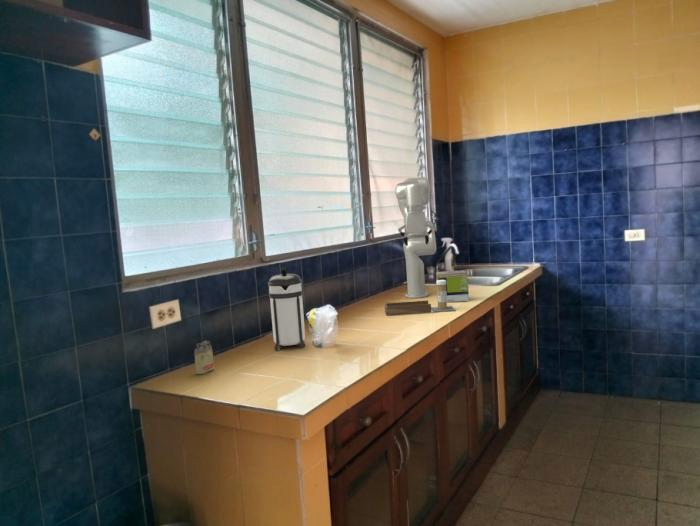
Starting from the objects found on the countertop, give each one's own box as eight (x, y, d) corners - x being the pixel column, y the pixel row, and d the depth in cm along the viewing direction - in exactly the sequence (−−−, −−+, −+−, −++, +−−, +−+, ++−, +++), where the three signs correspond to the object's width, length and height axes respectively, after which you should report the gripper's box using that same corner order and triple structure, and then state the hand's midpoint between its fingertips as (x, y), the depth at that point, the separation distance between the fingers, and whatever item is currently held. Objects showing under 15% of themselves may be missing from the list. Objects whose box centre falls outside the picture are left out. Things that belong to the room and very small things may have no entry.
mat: (430, 308, 263) (430, 307, 263) (451, 307, 263) (451, 306, 263) (433, 312, 253) (433, 311, 253) (455, 311, 253) (455, 310, 253)
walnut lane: (384, 311, 263) (384, 303, 263) (428, 308, 263) (427, 300, 263) (386, 315, 253) (385, 307, 253) (431, 312, 253) (431, 304, 253)
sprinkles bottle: (436, 308, 260) (435, 280, 259) (446, 307, 261) (444, 279, 260) (439, 309, 256) (437, 281, 255) (448, 309, 256) (447, 280, 255)
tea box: (466, 298, 284) (465, 269, 283) (469, 301, 274) (467, 272, 273) (437, 299, 286) (435, 271, 284) (438, 303, 276) (437, 273, 274)
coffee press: (319, 343, 211) (313, 265, 208) (287, 353, 199) (281, 270, 196) (290, 338, 223) (284, 264, 219) (258, 347, 211) (251, 269, 208)
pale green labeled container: (202, 375, 179) (199, 345, 178) (193, 374, 181) (190, 344, 180) (216, 368, 185) (213, 339, 184) (207, 367, 187) (205, 339, 186)
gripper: (431, 208, 269) (433, 243, 271) (396, 210, 269) (398, 245, 271) (433, 208, 262) (435, 244, 263) (397, 210, 262) (399, 246, 263)
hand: (416, 244), depth 267 cm, fingers open, 9 cm apart
